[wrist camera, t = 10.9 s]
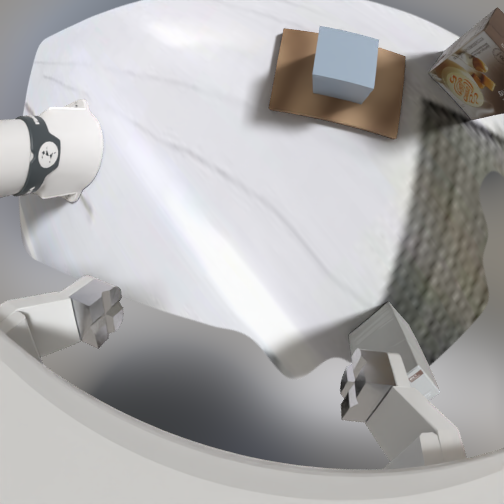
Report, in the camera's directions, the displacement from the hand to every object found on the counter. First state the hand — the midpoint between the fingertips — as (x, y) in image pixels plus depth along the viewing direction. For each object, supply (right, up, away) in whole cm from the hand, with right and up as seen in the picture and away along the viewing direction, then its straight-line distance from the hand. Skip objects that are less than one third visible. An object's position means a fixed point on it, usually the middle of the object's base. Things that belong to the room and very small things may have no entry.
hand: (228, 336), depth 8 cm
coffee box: (+29, +26, +15) cm, 42 cm away
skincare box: (+20, -9, +29) cm, 36 cm away
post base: (+12, +24, +19) cm, 33 cm away
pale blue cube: (+11, +24, +18) cm, 32 cm away
